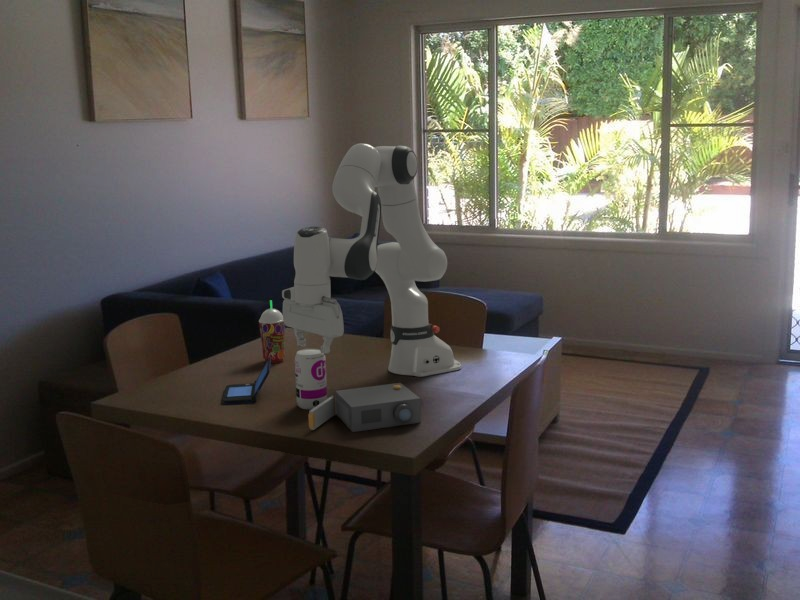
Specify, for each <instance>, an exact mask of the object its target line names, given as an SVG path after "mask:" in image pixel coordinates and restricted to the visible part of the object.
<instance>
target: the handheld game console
mask: <svg viewBox="0 0 800 600" xmlns="http://www.w3.org/2000/svg"><path fill="white" fill-rule="evenodd" d="M271 364H272V363H271V358H269V359H268V360H267V362H265V363H264V367H263V368H262V369H261V371H260V374H258V377H257V378H256V380H254V382H252V383H251V382H250V383H237V384H236V383H234V384H233V383H232V384H228V385H225V388H224V392H223V396H222V401H221V403H222V404H223V405H238V404H241V403H242V404H256V403H257V396H258V395H259V392H260V391H261V389H262V387H263V386H264V384H265V382H266V380H267V378H268V376H269V374H270V371H271Z"/></svg>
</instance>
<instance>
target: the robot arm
mask: <svg viewBox="0 0 800 600" xmlns="http://www.w3.org/2000/svg"><path fill="white" fill-rule="evenodd" d="M418 166H419V165H418V158H417V155H416V153H415V151H414V150H413V149H412V148H411V147H409V146H406V145H397V146H395V145H393V146H392V145H391V146H390V145H381V146H380V145H379V146H378V145H377V146H373V145H371V144H368V143H364V142H363V143H355V144H353V145H352V146H351V147H350V148H349V149H348V150H347V151H346V154H345V155H344V157H342V160H341V162H340V164H339V166H338V168H337V170H336V173H335V175H334V178H333V180H332V186H331V189H332V190H331V191H332V195H333V198H334V199H335V201H336V202H337V203H338V205H340V206H341V208H343V209H344V210H346V211H347V212H350V213H353V214H356V215H358V216H360V217H361V225H360V232H359V235H358V236H356V237H355V238H354V237H353V238H338V237H337V238H335V237H330V236H329V235H328V231H327V230H328V229H326V228H325V227H322V226H307V227H303V228H300V229H299V230H298V231H297V232H296V234H295V237H294V247H293V267H294V270H295V276H294V280H293V283H294V285H293V286H292V287H288V288H286V289H283V290H281V297H282V298H283V299H284V300H283V301H282V315H283V321H284V323H285V327H289V328H292V329H293V333H294V335H295V338H296V344H297V347H301V348H303V347H306V346H307V339H306V338H305V335H304V332H308V333H311V334H316V335H318V336H322V340H323V343H322V345H320V351H321V353H324V355H325V354H329V353H330V352H331V345H332V343H333V340H334V338H335V339H336V338H339V337H340V338H341V337H343V334H344V333H345V332H344V331H345V327H344V316H343V311H342V309H341V305H340V304H339V302H338V300H337V299H335V298H331V297H332V296H331V295H332V294H331V287H332V286H331V278H333V277H334V278H348V279H353V280H359V281H364V280H367V279H368V278H369V277H370V276H372V275H373V273H376V274H377V275H378V276H379V277H380V278H381V280H382V281H383V283H384V285H385V287H386V289H387V293H388V295H389V299H390V308H391V325H390V342H391V352H390V359H389V364H388V368H387V370H388V372H389V373H392V374H396V375H403V376H415V377H428V376H433V375H438V374H443V373H448V372H453V371H458V370H459V371H460V370H461V369H462V364H461V362H460V361H459V360H456V359H455V358H454V352H453V350H452V348H451V346H450V345H449V344H447V343H446V342H445V341H444V340H442V339H440V338H439V337H437V336H436V335H435V334H439V332H440V331H441V330H440V327H439V326H437V325H433V324H432V323H429V301H428V298H427V297H426V295H425V294H424V293H423V292H421V291H420V289H419V288H418V287H417V285H416V282H432V281H433V282H434V281H438V280H441V278H443V276H444V275H445V273H446V271H447V268H448V258H447V255H446V253H445V251H444V250H443V249H442V248H440V247H439V246H438V245H437V244H435V242H434V241H433V240H432V238H431V237H430V235H429V234H428V232H427V231H426V229H425V226H424V224H423V222H422V219H421V213H420V208H419V203H418V197H417V192H416V187H415V184H414V178H415V177H416V176H417V173H418ZM376 188H377V192H376V191H375V190H376ZM381 219H382V223H383V227H384V230H385V231H386V233H387V234H388V233H389V234H390V235H391V236H392V237H393V238H394V239H395V240H396V241H397V242H395V241H391V242H386V243H381V244H379V237H380V236H379V235H380V228H381Z"/></svg>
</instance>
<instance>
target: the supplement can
mask: <svg viewBox="0 0 800 600" xmlns="http://www.w3.org/2000/svg"><path fill="white" fill-rule="evenodd" d="M320 350H321V349H319V348H304V349H300V350H298V351H296V354H295V356H294V372H295V373H294V374H295V375H294V376H295V378H294V379H295V394H296V395H295V396H296V405H297V406H298V407H299V408H300V409H302V410H309V411H310V410H312V409H313V408H315V407H316V406H318V405H319V404H320V403H322V402H323V401H325V400H326V399H328V388H327V386H328V385H327V365H326V363H327V362H326V355H325V353H321V351H320Z"/></svg>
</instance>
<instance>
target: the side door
mask: <svg viewBox="0 0 800 600" xmlns="http://www.w3.org/2000/svg"><path fill="white" fill-rule="evenodd" d="M335 413H336V404H335V395H330V396H329V397H327V399H326V400H325V401H323V402H322V403H320V404H319V405H318V406H316V407H315V408H313V409H311V410H310V409H309V413H307V415H308V416H307V417H308V428H309V430H310V431H314V430H316V429H317V428H318V427H320V426H321V425H323V424H324V423H325V422H327V421H328V420H330V419H331V418H332V417H334V416H335V415H336V414H335Z"/></svg>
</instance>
